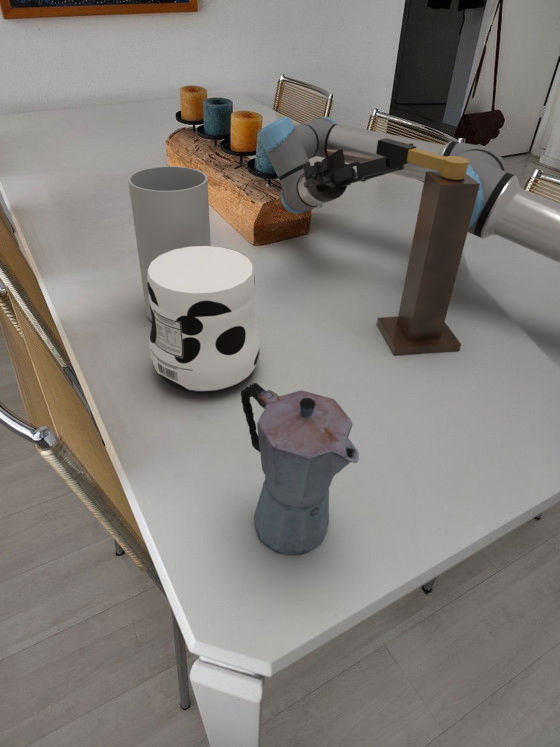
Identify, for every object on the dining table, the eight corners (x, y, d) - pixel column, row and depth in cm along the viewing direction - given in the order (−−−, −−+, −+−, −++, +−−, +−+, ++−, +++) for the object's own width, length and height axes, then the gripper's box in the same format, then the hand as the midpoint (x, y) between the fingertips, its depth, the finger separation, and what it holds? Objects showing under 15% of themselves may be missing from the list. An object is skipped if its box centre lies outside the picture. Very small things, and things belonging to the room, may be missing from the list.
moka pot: (318, 588, 58) (336, 459, 46) (213, 515, 66) (204, 386, 53) (363, 530, 65) (389, 402, 52) (262, 469, 72) (264, 344, 60)
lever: (387, 151, 90) (389, 136, 88) (469, 176, 81) (474, 160, 79) (372, 155, 88) (375, 139, 86) (456, 181, 79) (460, 164, 77)
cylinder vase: (137, 326, 98) (115, 187, 83) (158, 293, 108) (143, 163, 93) (204, 333, 97) (195, 194, 82) (220, 299, 107) (215, 169, 91)
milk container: (258, 338, 96) (260, 243, 85) (260, 402, 82) (262, 298, 72) (160, 338, 95) (148, 241, 84) (145, 402, 81) (129, 297, 71)
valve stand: (437, 320, 103) (475, 166, 86) (459, 351, 95) (505, 187, 78) (376, 324, 101) (402, 167, 84) (393, 355, 93) (426, 189, 76)
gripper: (378, 196, 115) (442, 171, 95) (269, 209, 107) (314, 185, 87) (373, 159, 114) (437, 126, 94) (262, 169, 105) (307, 136, 86)
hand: (378, 154), depth 90 cm, fingers open, 13 cm apart
